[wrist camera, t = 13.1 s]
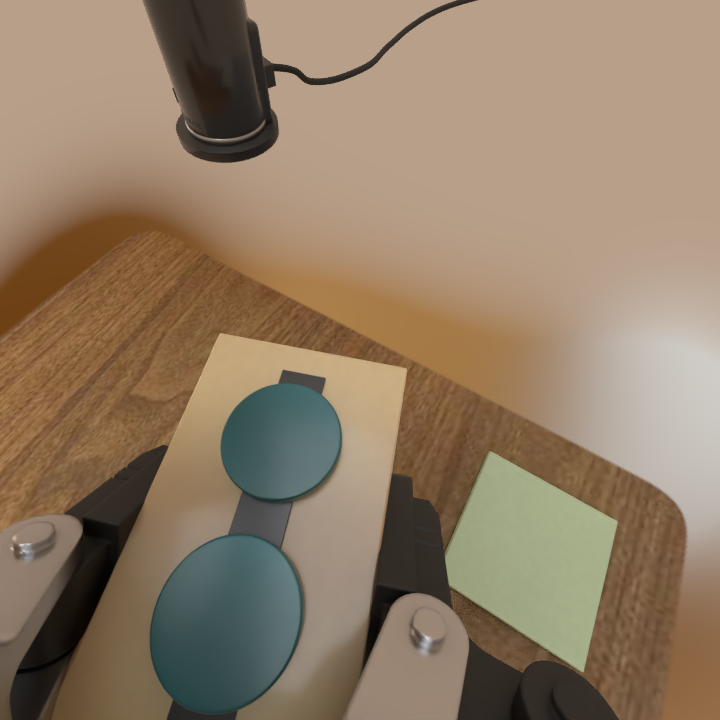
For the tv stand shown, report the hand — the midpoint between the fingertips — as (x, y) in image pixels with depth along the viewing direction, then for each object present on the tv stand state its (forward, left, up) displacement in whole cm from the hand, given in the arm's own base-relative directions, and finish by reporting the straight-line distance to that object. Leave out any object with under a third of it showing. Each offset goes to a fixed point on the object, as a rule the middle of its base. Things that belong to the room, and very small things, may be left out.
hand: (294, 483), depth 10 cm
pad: (-10, +9, -16) cm, 21 cm away
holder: (+1, +1, -4) cm, 5 cm away
